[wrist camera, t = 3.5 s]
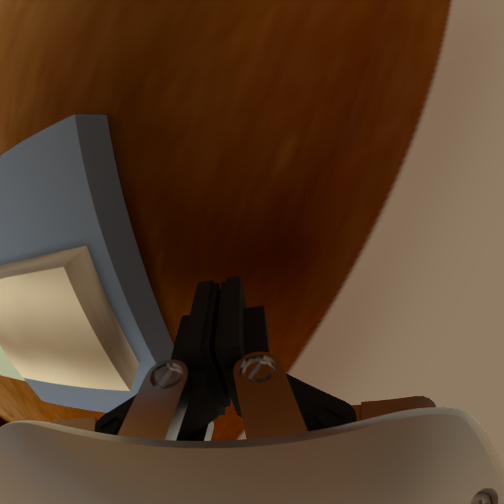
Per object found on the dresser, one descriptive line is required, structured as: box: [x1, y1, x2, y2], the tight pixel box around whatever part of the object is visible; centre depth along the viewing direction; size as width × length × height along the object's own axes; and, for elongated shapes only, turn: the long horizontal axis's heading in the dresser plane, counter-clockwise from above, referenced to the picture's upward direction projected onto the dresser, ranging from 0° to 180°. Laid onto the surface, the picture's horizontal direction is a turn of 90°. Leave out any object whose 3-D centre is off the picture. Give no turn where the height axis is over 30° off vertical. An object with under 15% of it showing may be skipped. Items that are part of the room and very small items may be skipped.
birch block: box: [0, 246, 140, 391], centre depth 11 cm, size 7×9×2 cm
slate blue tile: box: [0, 114, 174, 413], centre depth 13 cm, size 18×14×3 cm
